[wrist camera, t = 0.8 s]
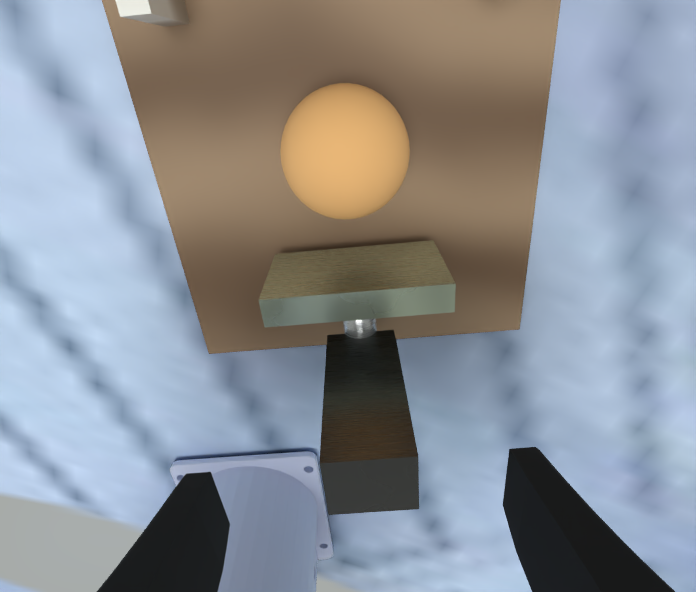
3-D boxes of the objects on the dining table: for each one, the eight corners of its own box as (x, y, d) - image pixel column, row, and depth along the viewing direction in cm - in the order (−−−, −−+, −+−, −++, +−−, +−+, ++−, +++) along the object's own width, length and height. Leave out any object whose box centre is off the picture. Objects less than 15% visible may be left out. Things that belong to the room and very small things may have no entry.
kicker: (432, 346, 18) (486, 516, 11) (294, 357, 18) (265, 530, 12) (433, 240, 16) (501, 372, 9) (275, 253, 16) (224, 394, 9)
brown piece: (515, 323, 19) (573, 409, 14) (212, 347, 20) (169, 438, 15) (603, -415, 10) (863, -893, 5) (10, -333, 10) (-292, -694, 5)
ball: (402, 194, 16) (419, 231, 12) (296, 204, 16) (283, 243, 12) (399, 74, 14) (418, 78, 10) (279, 87, 14) (258, 94, 11)
